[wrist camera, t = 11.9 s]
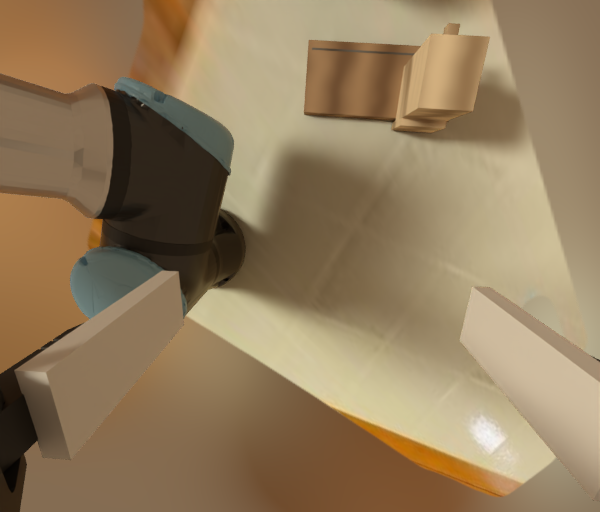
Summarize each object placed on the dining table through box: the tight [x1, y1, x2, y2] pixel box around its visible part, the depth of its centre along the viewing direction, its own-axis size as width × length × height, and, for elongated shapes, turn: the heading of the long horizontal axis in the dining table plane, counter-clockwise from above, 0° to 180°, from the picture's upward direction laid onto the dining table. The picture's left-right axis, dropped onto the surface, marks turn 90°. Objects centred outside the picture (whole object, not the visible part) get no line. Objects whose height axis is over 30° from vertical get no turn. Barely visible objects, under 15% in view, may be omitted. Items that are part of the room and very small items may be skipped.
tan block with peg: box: [392, 23, 490, 133], centre depth 36 cm, size 6×10×12 cm, turn 176°
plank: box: [304, 40, 449, 122], centre depth 41 cm, size 21×9×2 cm, turn 86°
